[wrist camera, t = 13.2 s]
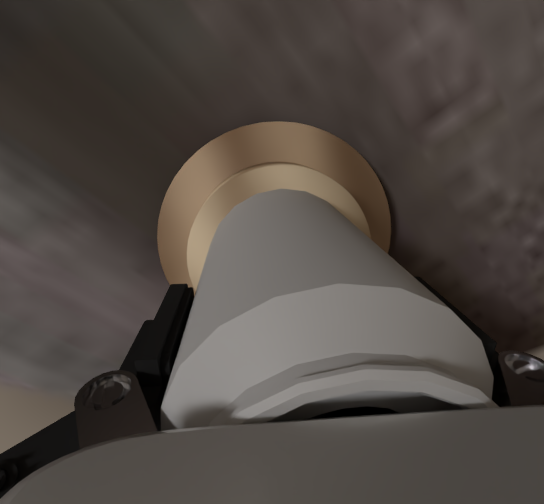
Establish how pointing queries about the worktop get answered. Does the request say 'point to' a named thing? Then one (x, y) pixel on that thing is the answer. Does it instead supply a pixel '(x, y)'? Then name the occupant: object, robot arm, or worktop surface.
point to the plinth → (263, 188)
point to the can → (314, 326)
